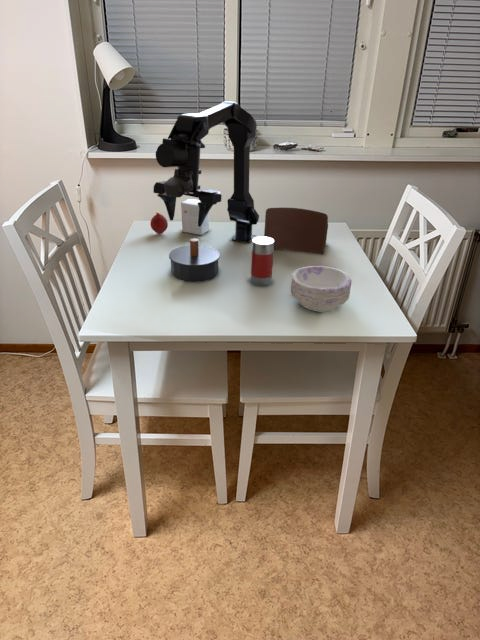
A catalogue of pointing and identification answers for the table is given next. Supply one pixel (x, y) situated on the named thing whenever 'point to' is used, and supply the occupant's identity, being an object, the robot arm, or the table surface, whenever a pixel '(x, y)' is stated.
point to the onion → (159, 223)
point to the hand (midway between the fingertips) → (185, 223)
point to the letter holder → (297, 229)
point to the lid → (194, 255)
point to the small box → (193, 217)
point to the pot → (194, 272)
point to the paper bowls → (320, 287)
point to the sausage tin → (262, 261)
